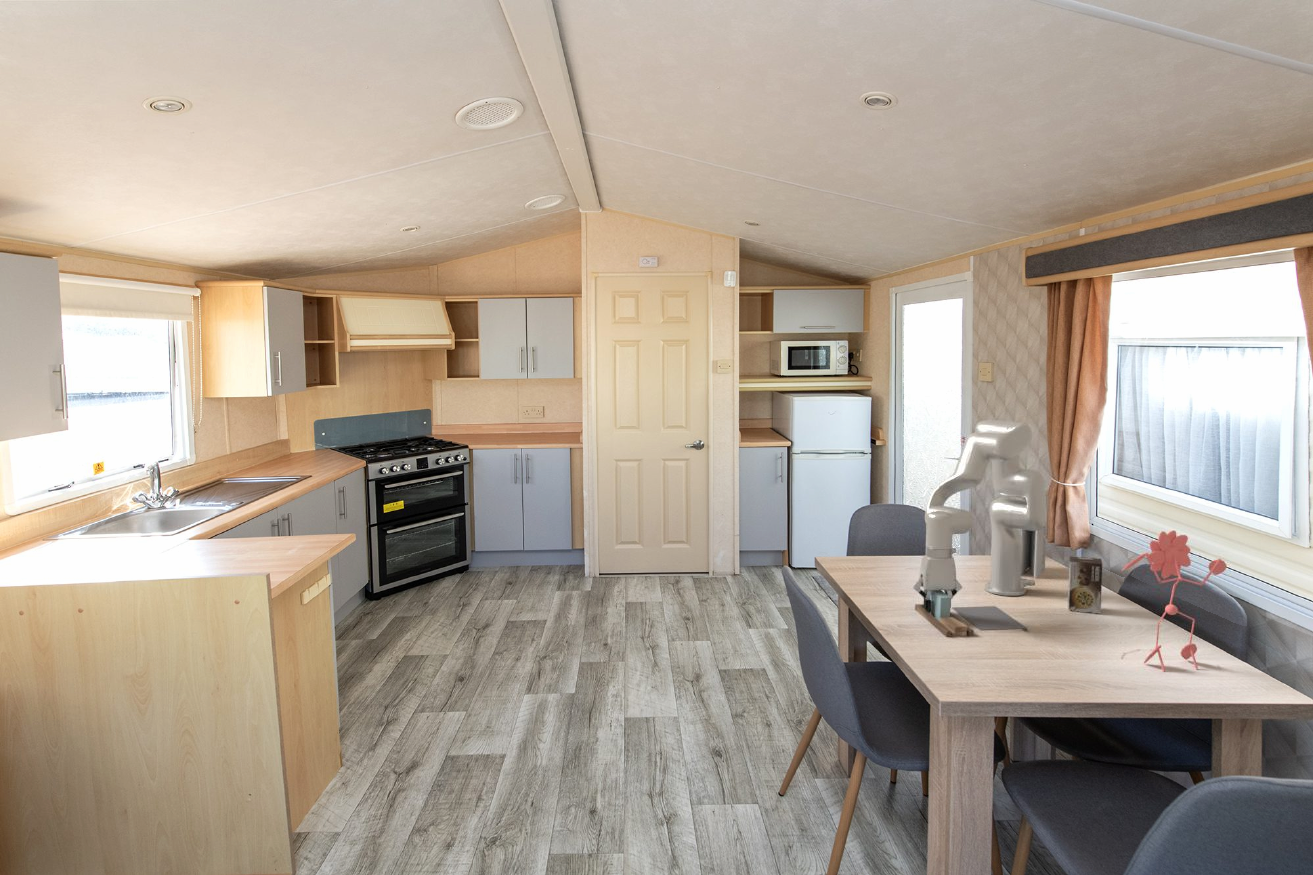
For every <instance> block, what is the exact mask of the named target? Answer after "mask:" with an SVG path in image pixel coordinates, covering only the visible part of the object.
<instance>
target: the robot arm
mask: <svg viewBox="0 0 1313 875" xmlns="http://www.w3.org/2000/svg"><path fill="white" fill-rule="evenodd" d="M1032 437H1033V431H1032V429H1031V426H1029V425H1028V424H1026V423H1024V422H1018V421H1006V420H1005V421H1004V420H995V419H994V420H989V419H987V420H986V419H985V420H980V421H979V422H978V423H977V424H976V425H975V430H974V432H972V433H970V434H968V435H967V437H965V441H964V443H963V446H962V449H961V452H960V455H959V457H958V460H957V463H956V466H955V469H954V472H953V474H952V475H950V476H949V477H947V478H946V479H945V480H943V481H941V483H939V485H938V486H937V487H935V489H934V490H933V491H932V493H931V495H930V497H929V500H928V503H927V505H926V509H925V512H924V522H925V532H926V533H925V555H922V557H921V561H920V566H919V573H918V574H919V575H918V581H917V582H916V583H915V584H914V585H913V587H912V588H913V589H914V590H915V591H916V592H917V593H918V594H919V595H920V596H921V597H922V598H923V604H924V609H925V610H926V611H927V612H928V613H930V612H931V600H930V595H931V592H932V591H936V590H941V591H943V592H944V593H945V594H947V595H948V596H949V597H951V600H953V599H954V596H956V594H957V593H958V592H959V591H961V590H962V589H963V586H962V584H961V583H960V582H959V580H958V579H957V571H956V563H955V562H956V561H955V559H954V557H953V554H956V553H957V548H955V547H953V535H963V534H966V533H968V532H970V531H971V530H972V528H973V527H974V524H975V518H974V516H973V513H971V512H970V511H968V510H966V509H963V508H959V507H958V508H956V507H953V506H945V503H946V501H947V500H948V499H949V498H950V497H952V496H953V495H955V494H957V493H959V492H962V491H966V490H969V489H972V488H976V487H978V486H979V485H981V484H982V482H983V478H984V476H985V474H986V471H987V467H988V465H989V462H990V461H991V471H992V472H991V473H992V474H991V475H992V484H993V486H992V488H993V490H994V492H995V493H997V494H998V495H1001V496H1006V497H998V498H996V499H994V500H992V502H991V503H990V506H989V509H988V512H989V513H988V514H989V519H990V528H991V544H990V571H989V573H990V574H989V582H988V583H986V584H985V585H984V590H986V592H988V593H991V594H994V595H1000V596H1007V597H1019V596H1023V595H1025V594H1026V588H1025V587H1027V586H1031V587H1034V586H1036V580H1034V579H1027V578H1022V575H1021V563H1022V538H1021V532H1019V530H1021V529H1023V530H1029V531H1039V530H1041V529H1042V528H1043V527H1044V525H1045V523H1046V490H1047V488H1046V481H1045V480H1046V479H1045V477H1044V475H1043V474H1042V473H1041V471H1038V470H1035V469H1028V468H1022V466H1021V460H1020V458H1021V457H1020V453H1021V452H1023V451H1025V450H1026V449H1027V448H1028V447H1029V445H1030V444H1031V442H1032V439H1033V438H1032ZM1010 497H1014V498H1010ZM1017 498H1021V499H1017ZM1022 498H1024V499H1025V500H1026V501H1025V500H1022ZM922 587H923V590H922V589H921V588H922ZM950 609H952V601H951V602H950Z"/></svg>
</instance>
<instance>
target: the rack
mask: <svg viewBox="0 0 1313 875" xmlns="http://www.w3.org/2000/svg"><path fill="white" fill-rule="evenodd" d="M914 605H915V606H914V610H915V612H917V613H918V614H919V615H921V616H922V617H923V618H924V619H925V620H926V621H927V622H929V624H931V626H933V627H934V628H935V629H937V630H938V632H940V633H941V634H942V635H943V636H945V637H946V638H951V636H952V635H951V631H950V630H949V629H948V628H946V627H945V626H944V625H943V624H942V623H940V622H939V621H938V620H937V619H936V618H935V617H933V616H932V615H931V614H930V613H928V612H927V611H926V610H925V609H924V603H923V604H922V603H920V604H919V603H918V604H914ZM950 617H953V618H954V619H956V620H958V621H960V622H961V623H963V624H965V625H966V626H968V624H966V623H965V622H964V621H963V620H961V619H959V618H958V617H957V616H956V615H954V614H953V613H952V612H951V611H950ZM974 631H975V630H974V629H972V628H971V627H970V626H968V627H967V631H966V632H967V634H966V636H968V637H974Z"/></svg>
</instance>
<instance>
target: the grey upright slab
mask: <svg viewBox="0 0 1313 875" xmlns="http://www.w3.org/2000/svg"><path fill="white" fill-rule="evenodd" d="M1049 490H1050V489H1049V488H1046V523H1045V525H1044V527H1043V528H1042V529H1041V530H1039V531H1029V530H1023V529H1020V535H1021V538H1022V563H1021V576H1022V575H1023V574H1024V573H1025V572H1026V571H1028V569H1029V570H1030V572H1031V574H1032V575H1033V577H1034V579H1037V578H1038V577H1039V576H1040V575H1041V574H1042V573H1043V572H1044V571H1045V570H1046V555H1047V531H1048V512H1049V511H1048V509H1049ZM1021 500H1025V499H1024V498H1021ZM1025 501H1026V500H1025Z"/></svg>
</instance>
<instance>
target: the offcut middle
mask: <svg viewBox="0 0 1313 875" xmlns="http://www.w3.org/2000/svg"><path fill="white" fill-rule="evenodd" d="M949 630H950V629H949ZM950 631H951V630H950ZM951 636H952V637H964V636H965V637H966V636H967V632H966V631H965V632H956V633H955V632H953V631H951Z"/></svg>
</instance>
